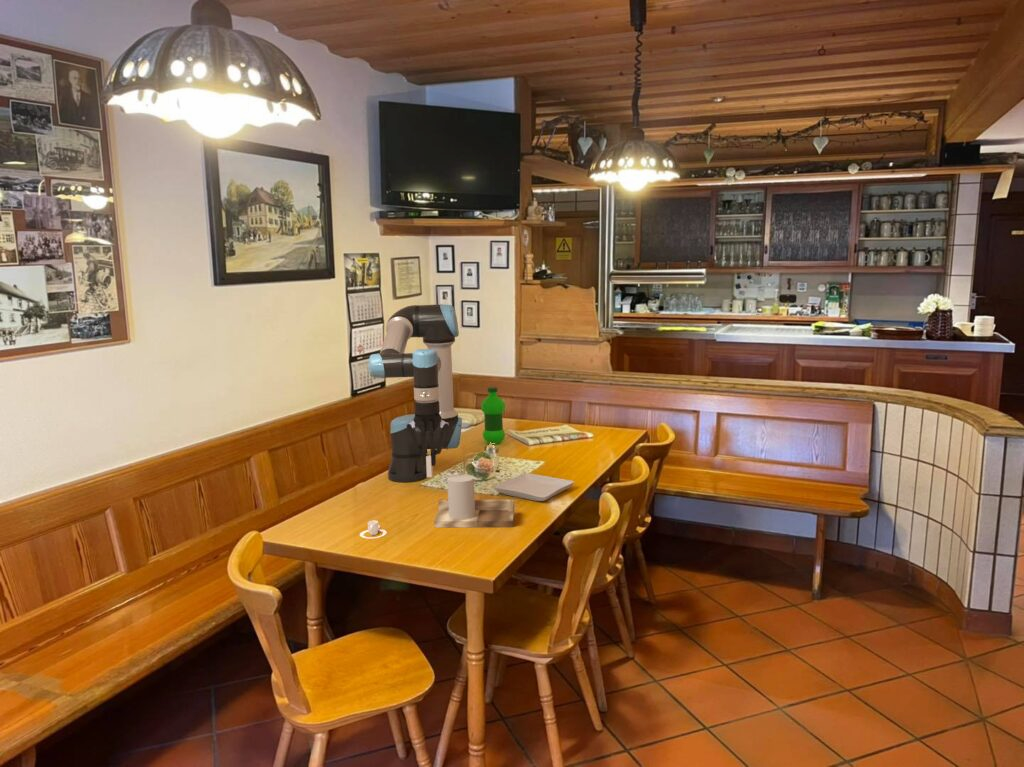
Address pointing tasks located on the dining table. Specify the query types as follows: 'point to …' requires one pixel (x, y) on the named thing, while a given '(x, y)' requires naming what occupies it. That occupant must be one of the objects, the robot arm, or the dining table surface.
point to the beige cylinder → (461, 497)
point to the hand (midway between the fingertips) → (429, 476)
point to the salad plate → (533, 486)
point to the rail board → (479, 515)
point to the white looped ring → (373, 530)
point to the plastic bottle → (493, 417)
